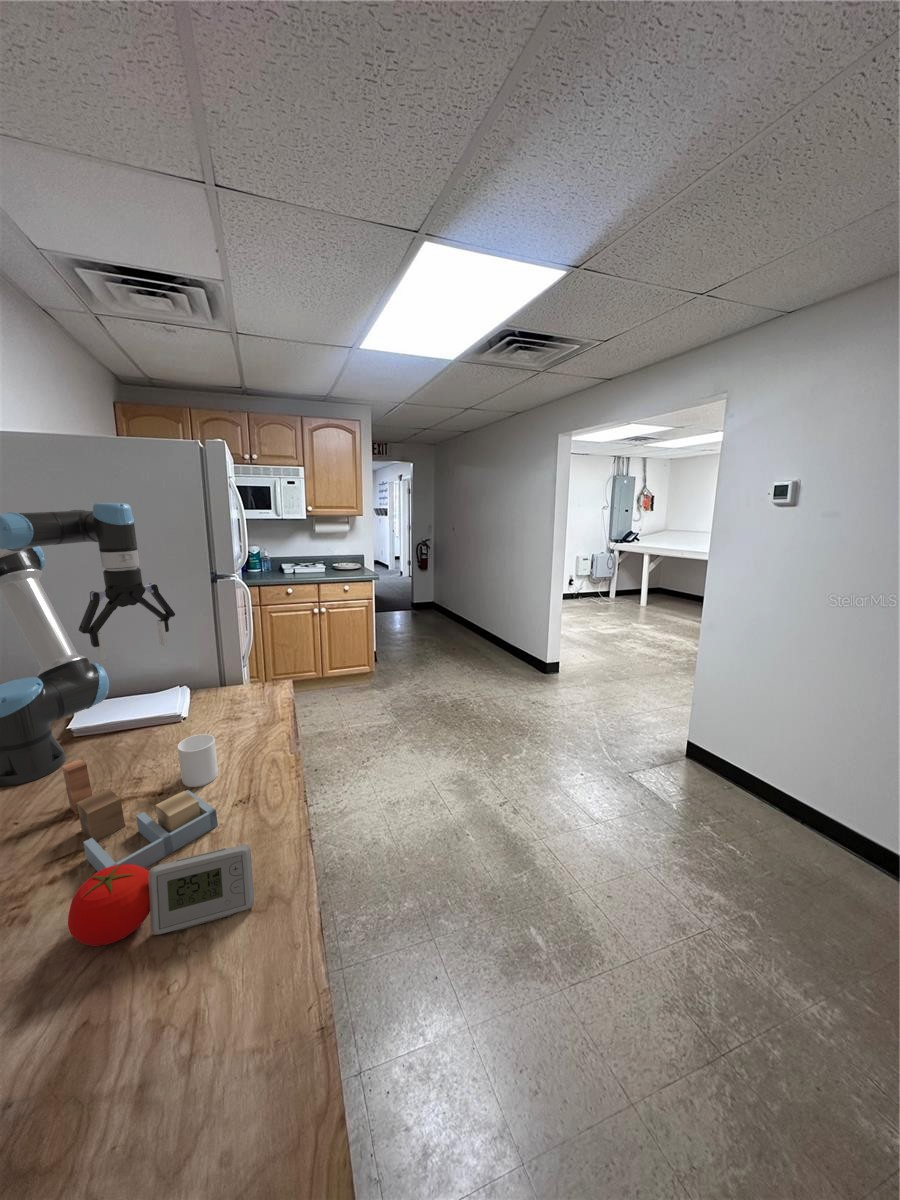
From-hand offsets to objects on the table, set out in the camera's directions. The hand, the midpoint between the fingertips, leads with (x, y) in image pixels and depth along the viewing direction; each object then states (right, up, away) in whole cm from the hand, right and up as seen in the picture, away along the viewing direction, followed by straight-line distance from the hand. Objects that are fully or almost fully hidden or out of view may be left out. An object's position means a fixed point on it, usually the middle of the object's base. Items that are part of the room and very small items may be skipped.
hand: (134, 651), depth 118 cm
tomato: (+23, -43, -38) cm, 62 cm away
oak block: (+21, -37, -16) cm, 46 cm away
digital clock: (+37, -43, -35) cm, 66 cm away
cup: (+14, -33, +4) cm, 36 cm away
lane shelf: (+17, -38, -19) cm, 46 cm away
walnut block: (0, -36, -13) cm, 38 cm away
